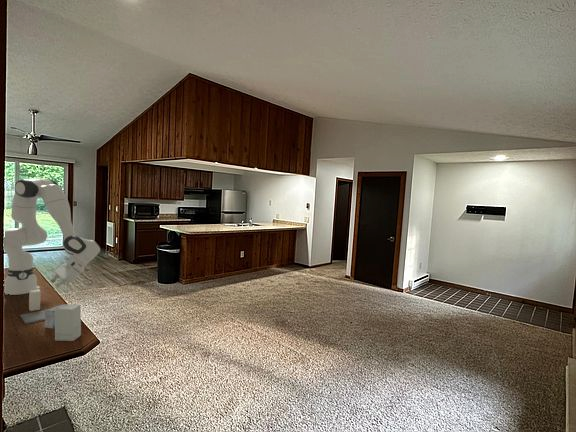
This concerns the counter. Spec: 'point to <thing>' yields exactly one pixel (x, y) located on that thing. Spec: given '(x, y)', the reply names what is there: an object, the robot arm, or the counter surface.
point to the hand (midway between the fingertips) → (53, 284)
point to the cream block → (34, 299)
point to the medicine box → (50, 318)
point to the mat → (33, 317)
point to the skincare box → (67, 322)
